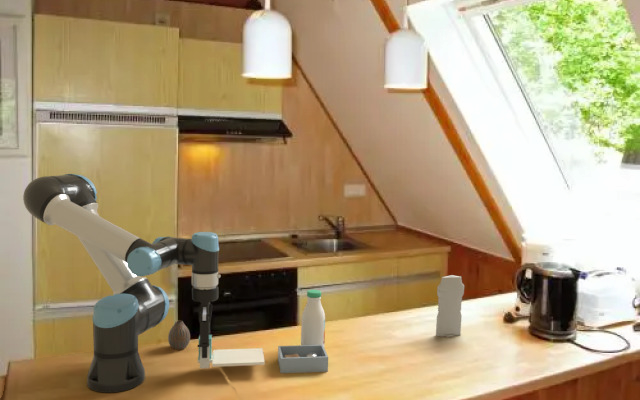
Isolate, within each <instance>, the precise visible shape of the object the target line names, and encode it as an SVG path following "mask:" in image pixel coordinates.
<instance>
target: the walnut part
mask: <svg viewBox="0 0 640 400" xmlns="http://www.w3.org/2000/svg"><path fill="white" fill-rule="evenodd" d="M291 357H300V356H299V355H298V354H290V355H284V358H291Z"/></svg>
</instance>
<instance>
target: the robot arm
mask: <svg viewBox="0 0 640 400" xmlns="http://www.w3.org/2000/svg"><path fill="white" fill-rule="evenodd" d="M97 194H98V192H97V189H96V187H95V184H94V183H93V181H92V180H91V179H89V178H88V177H86V176H84V175H81V174H78V173H77V174H75V173H67V174H66V173H65V174H61V175H47V176H40V177H37V178H34V179H32V181H30V182H29V183H28V184H27V186H26V188H25V189H24V191H23V196H22V197H23V198H22V200H23V204H24V206H25V209H26V210H27V211H28V213H30V215H32V216H33V218H36V220H39V221H40V222H42V223H44V224H46V225H48V226H54V225H56V226H57V227H59V228H62V229H63V230H65V231H67V232H69V233H70V234H73V235H74V236H76V237H77V239H78V240H79V242H80V243H81V244H82V246H83V247H84V249H85V251H86V252H87V254H88V255H89V257H90V258H91V259H92V260H91V261H92V262H93V263H94V264H95V266H96V267H97V269H98V271H99V272H100V274H101V275H102V277H103V278H104V279H105V281H106V282H107V285H108V286H109V287H110V289H111V290H112V292H113V294H112V295H107V296H104V297H102V298H100V299H99V300H98V301H96V302H95V304H94V306H93V314H92V318H91V319H92V323H93V324H92V325H93V326H92V329H93V334H92V335H93V358H92V360H91V364H90V366H89V371H88V373H87V376H86V377H87V379H86V380H87V381H86V383H87V384H86V385H87V387H88V388H89V389H90V390H92V391H94V392H99V393H119V392H125V391H128V390H132V389H134V388H136V387H138V386H140V385H141V384H142V383H144V381H145V378H146V376H145V374H146V372H145V371H146V370H145V367H144V365H143V361H142V359H141V356H140V353H139V336H140V335H141V334H143V333H145V332H146V331H148V330H151V329H152V328H154V327H156V326H157V325H159V324H160V323H161V322H162V321H164V319H166V317H167V316H168V313H169V308H170V300H169V297H168V296H169V295H168V294H167V292H166V291H165V290H164V289H163V288H162V287H161V286H156V285H153V284H152V283H151V282H150V280H149V279H148V277H145V276H150V275H153V274H155V273H157V272H159V271H162V270H164V269H166V268H168V267H171V266H173V265H184V266H186V265H187V266H190V265H191V286H192V288H191V299H192V301H194V302H195V303H200V304H198V306H197V313H198V322H199V335H200V344H199V343H198V344H197V348H199V347H200V363H199V369H210V366H211V365H210V364H211V363H210V345H209V335H212V336H213V334H211V332H212V331H211V321H212V313H213V302H215V301H217V300H218V299H219V286H218V285H219V279H220V278H221V273H220V274H219V259H220V258H219V254H220V253H219V251H220V245H219V236H218V234H217V233H215V232H212V231H199V232H195V233H193V234H192V235H191V238H185V237H184V238H183V237H172V236H158V237H156V238H155V239H154V241H152V242H151V243H150V242H149V241H147V240H145V239H143V238H141V237H139V236H138V235H135V234H134V233H132V232H129V231H127V230H126V229H124V228H123V227H120V226H119V225H116V224H114V223H112V222H111V221H109V220H107V219H105V218H104V217H101V216H100V214H99V212H98V209H99V203H98V202H97V198H98V197H97ZM211 302H212V303H211Z"/></svg>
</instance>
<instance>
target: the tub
mask: <svg viewBox="0 0 640 400" xmlns="http://www.w3.org/2000/svg"><path fill="white" fill-rule="evenodd" d="M307 353H316V354H317V357H306V354H307ZM290 354H298V355H299V356H300V357H291V358H284V355H290ZM277 363H278V367H279V372H280V374H294V373H295V374H297V373H298V374H299V373H321V372H322V373H324V372H325V373H327V372H328V371H329V368H328V367H329V356H328V354H327V351H326V349H325V345H324V346H323V345H301V344H300V345H278V346H277Z"/></svg>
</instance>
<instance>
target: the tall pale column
mask: <svg viewBox="0 0 640 400" xmlns="http://www.w3.org/2000/svg"><path fill="white" fill-rule="evenodd" d="M439 282H440V283H439V284H438V285H437V291H436V293H437V294H436V296H437V297H438V298H437V301H438V305H437V306H438V307H437V315H436V324H435V325H436V329H435V336H436V337H438V336H439V337H442V338H444V337H447V338H452V337H453V338H454V337H456V336H461V334H462V333H461V331H462V330H461V329H462V312H461V311H462V301H463V296H464V295H465V284H464V283H463V280H462V276H461V275H460V276H459V275H453V274H451V275H447V276H442V277H441V280H440V281H439Z"/></svg>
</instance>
